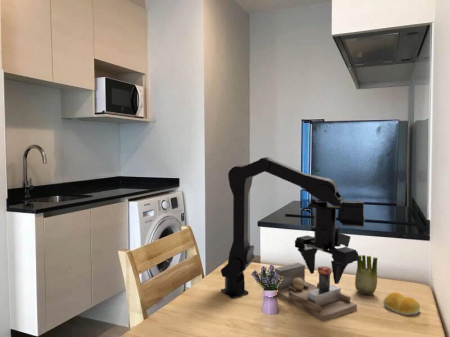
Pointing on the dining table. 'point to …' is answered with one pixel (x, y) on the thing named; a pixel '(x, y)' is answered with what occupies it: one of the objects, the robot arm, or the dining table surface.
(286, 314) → the dining table surface
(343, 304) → the base
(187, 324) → the dining table surface
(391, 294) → the bread roll
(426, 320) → the dining table surface
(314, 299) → the sliding jaw
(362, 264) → the fennel bulb
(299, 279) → the walnut
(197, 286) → the dining table surface
